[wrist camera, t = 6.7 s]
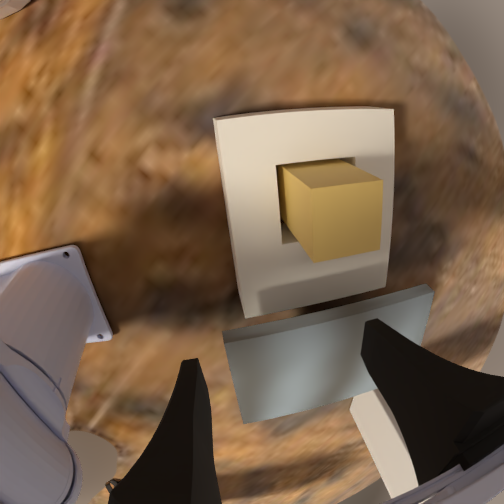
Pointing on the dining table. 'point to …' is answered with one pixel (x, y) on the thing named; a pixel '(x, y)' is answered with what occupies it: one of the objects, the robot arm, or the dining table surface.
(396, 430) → the milk carton
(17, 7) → the white cup
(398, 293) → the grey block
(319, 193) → the peg
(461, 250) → the dining table surface
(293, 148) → the socket
